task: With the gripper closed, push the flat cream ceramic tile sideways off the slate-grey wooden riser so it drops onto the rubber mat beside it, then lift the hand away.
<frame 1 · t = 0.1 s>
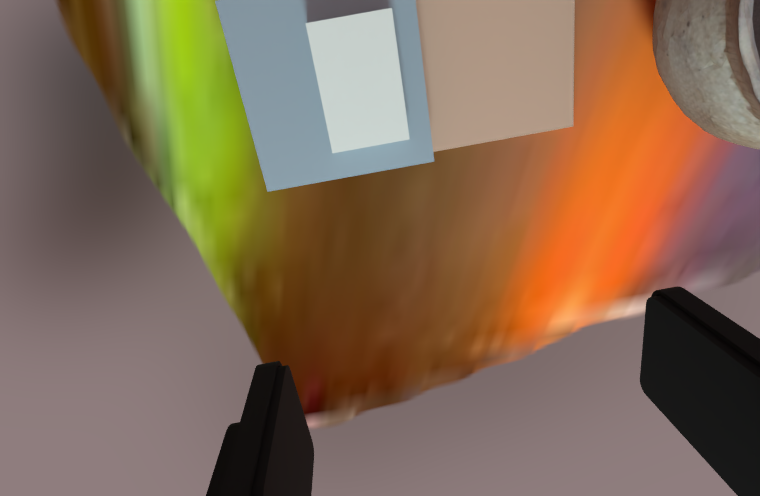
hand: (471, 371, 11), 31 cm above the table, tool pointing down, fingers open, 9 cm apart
tile: (359, 83, 34), point 4 cm above the table, touching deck
ceramic bowl: (726, 1, 38), on the table
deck: (334, 85, 38), on the table
mat: (496, 55, 38), on the table
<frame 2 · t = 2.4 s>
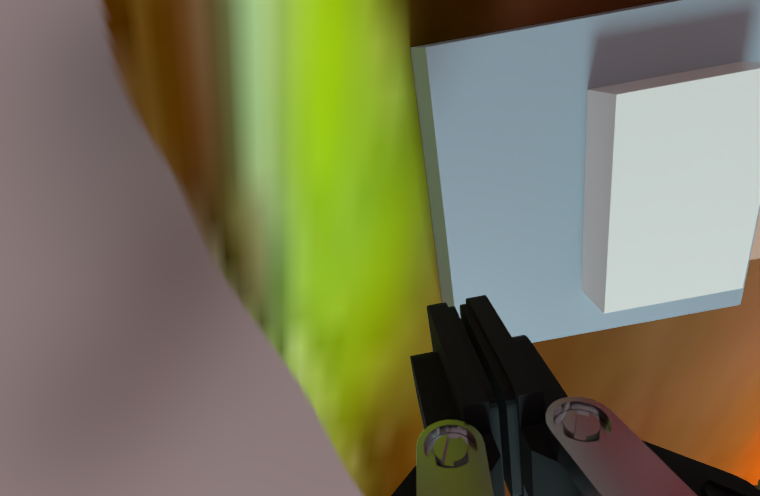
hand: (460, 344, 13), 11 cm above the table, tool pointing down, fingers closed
tile: (653, 187, 19), point 4 cm above the table, touching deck
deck: (564, 171, 23), on the table
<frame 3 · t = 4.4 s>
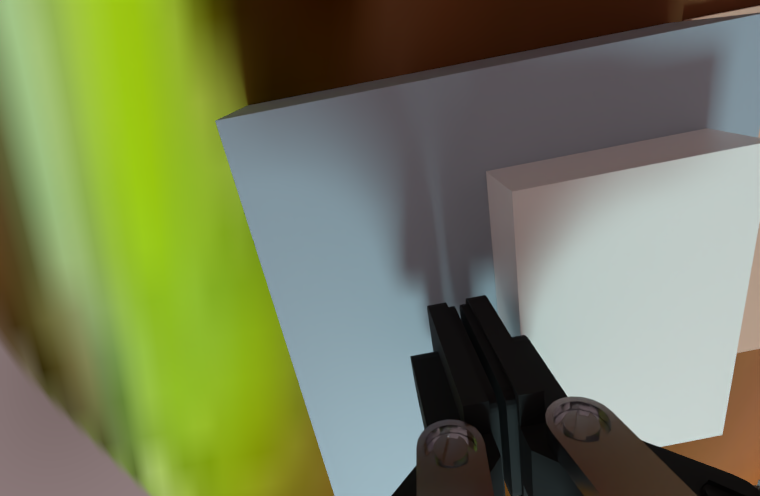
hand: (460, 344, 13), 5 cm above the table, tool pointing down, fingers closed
tile: (593, 294, 14), point 4 cm above the table, touching gripper
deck: (477, 255, 17), on the table
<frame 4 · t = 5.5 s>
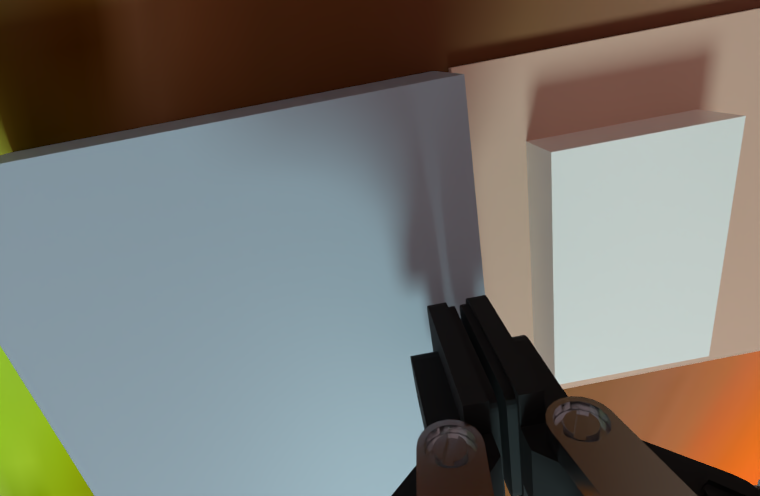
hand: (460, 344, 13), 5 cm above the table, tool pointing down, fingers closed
tile: (639, 266, 15), point 2 cm above the table, tilted 180°, touching mat
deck: (279, 296, 17), on the table
mat: (632, 227, 17), on the table
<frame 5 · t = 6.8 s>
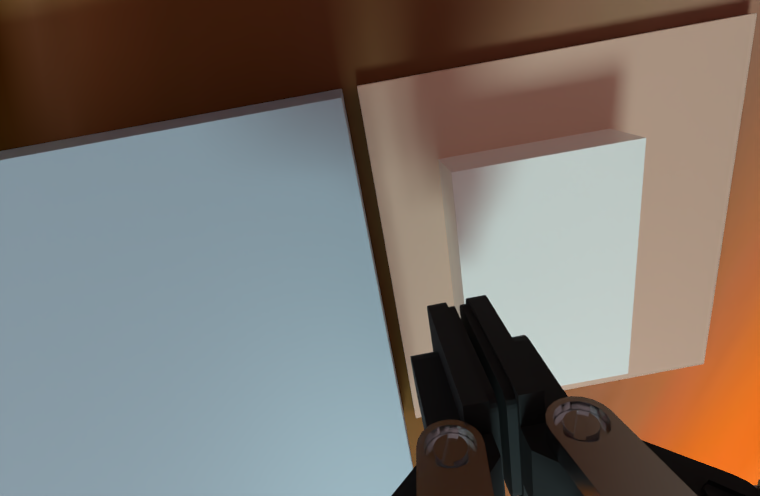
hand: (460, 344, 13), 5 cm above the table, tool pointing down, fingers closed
tile: (550, 285, 15), point 2 cm above the table, tilted 180°, touching mat
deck: (200, 310, 17), on the table
mat: (554, 244, 17), on the table
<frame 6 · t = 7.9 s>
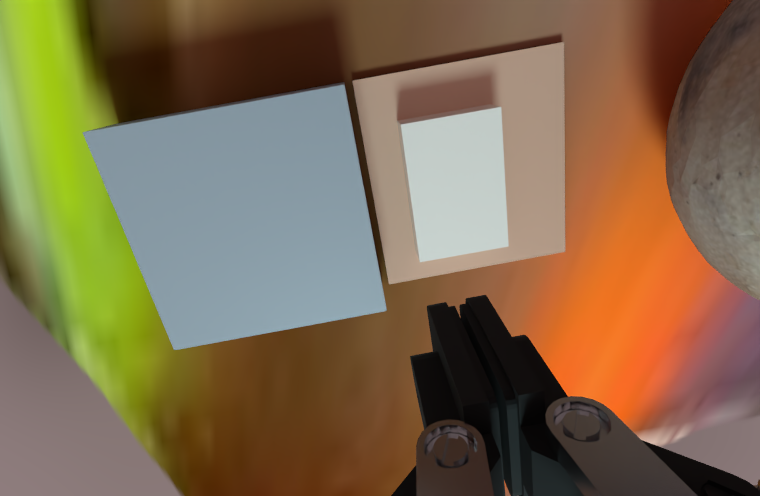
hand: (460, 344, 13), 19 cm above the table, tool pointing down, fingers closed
tile: (458, 189, 28), point 2 cm above the table, tilted 180°, touching mat
ceramic bowl: (757, 103, 30), on the table
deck: (262, 210, 30), on the table
mat: (467, 172, 30), on the table
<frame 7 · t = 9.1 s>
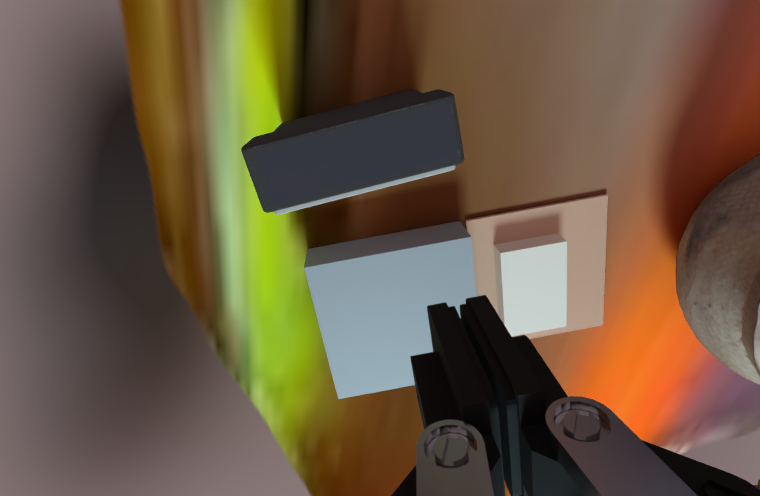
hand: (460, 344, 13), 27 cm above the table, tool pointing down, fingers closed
tile: (534, 291, 41), point 2 cm above the table, tilted 180°, touching mat
ceramic bowl: (738, 226, 43), on the table
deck: (395, 301, 43), on the table
mat: (537, 274, 43), on the table
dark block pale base: (351, 124, 36), on the table
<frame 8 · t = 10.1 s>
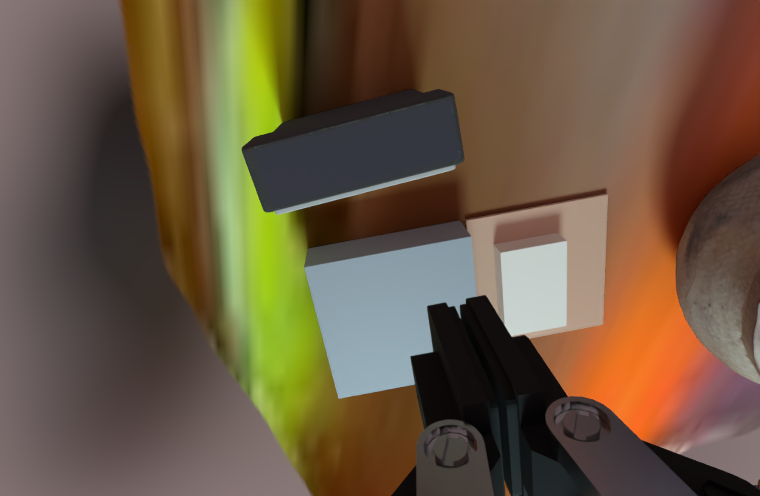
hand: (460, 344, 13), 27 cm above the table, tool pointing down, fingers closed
tile: (534, 290, 41), point 2 cm above the table, tilted 180°, touching mat
ceramic bowl: (738, 226, 43), on the table
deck: (395, 300, 43), on the table
mat: (537, 274, 43), on the table
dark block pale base: (351, 124, 36), on the table
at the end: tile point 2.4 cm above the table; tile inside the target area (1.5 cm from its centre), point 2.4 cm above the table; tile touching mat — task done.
